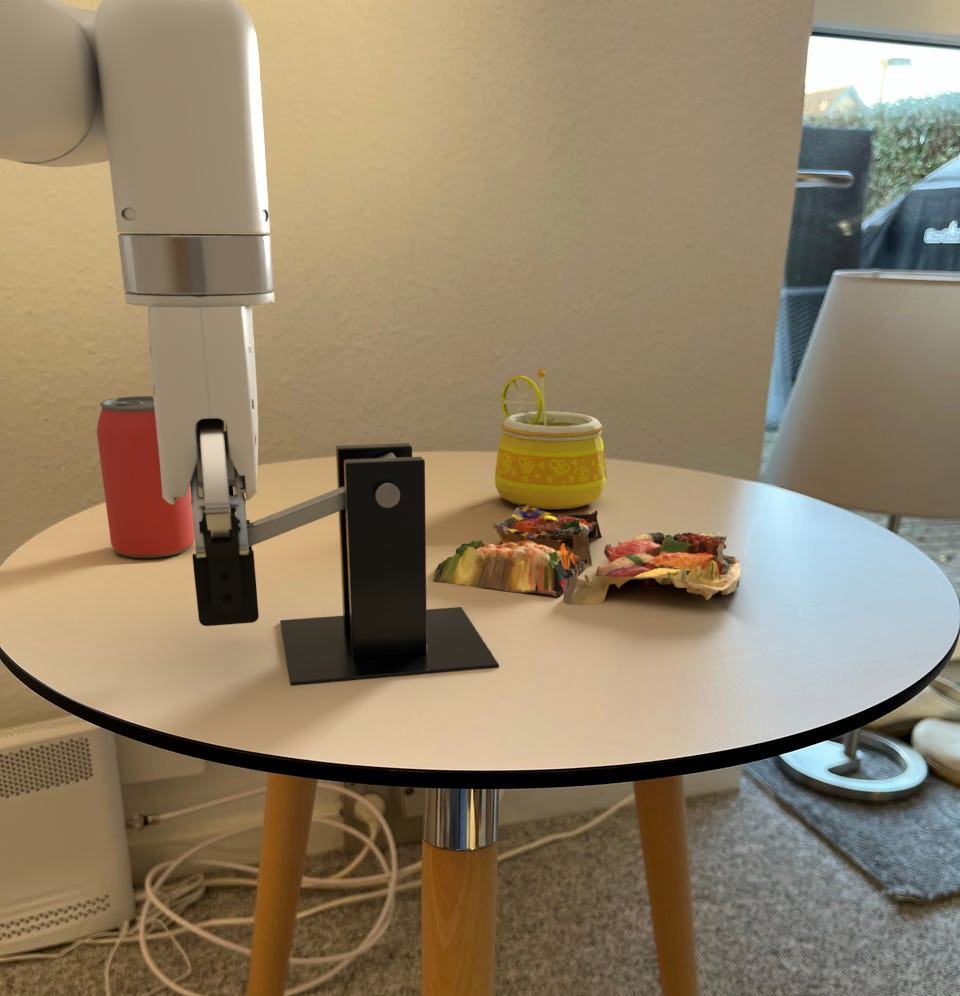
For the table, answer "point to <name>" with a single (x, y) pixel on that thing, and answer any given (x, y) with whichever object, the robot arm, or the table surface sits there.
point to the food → (587, 559)
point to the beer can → (139, 483)
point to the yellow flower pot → (548, 454)
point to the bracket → (382, 584)
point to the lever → (298, 515)
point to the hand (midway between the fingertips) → (228, 600)
